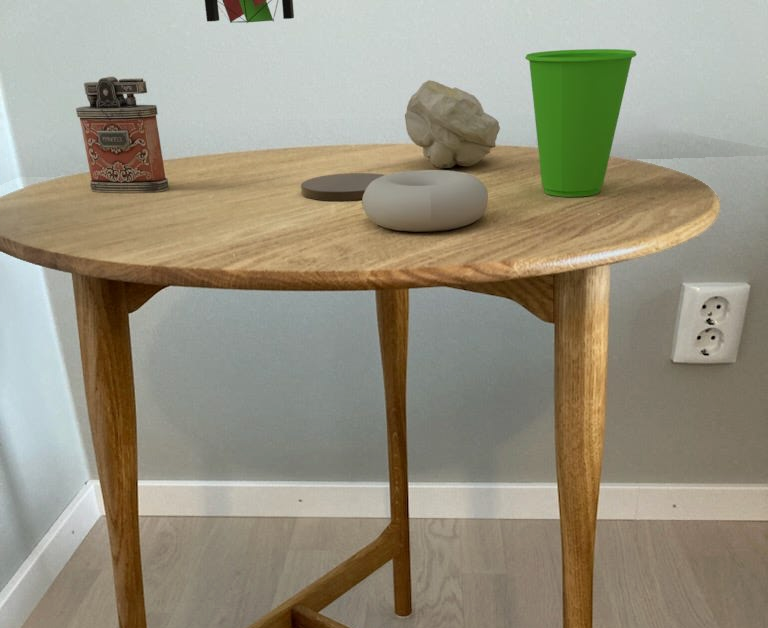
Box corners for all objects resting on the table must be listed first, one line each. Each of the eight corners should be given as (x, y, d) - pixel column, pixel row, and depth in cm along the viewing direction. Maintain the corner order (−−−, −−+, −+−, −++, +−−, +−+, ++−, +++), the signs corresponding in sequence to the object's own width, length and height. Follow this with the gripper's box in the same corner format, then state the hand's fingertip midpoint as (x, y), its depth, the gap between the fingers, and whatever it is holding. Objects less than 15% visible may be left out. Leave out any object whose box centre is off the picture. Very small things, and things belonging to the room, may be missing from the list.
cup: (637, 184, 82) (650, 48, 77) (604, 205, 76) (615, 57, 70) (543, 179, 86) (549, 49, 81) (504, 197, 80) (508, 57, 74)
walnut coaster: (297, 202, 81) (296, 193, 81) (306, 183, 89) (305, 174, 89) (397, 198, 81) (397, 189, 81) (397, 180, 89) (397, 171, 89)
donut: (455, 205, 79) (346, 215, 76) (456, 162, 77) (344, 172, 74) (509, 228, 71) (389, 242, 68) (512, 182, 69) (388, 193, 66)
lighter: (84, 192, 90) (62, 80, 85) (101, 185, 93) (81, 76, 88) (159, 192, 88) (142, 78, 83) (174, 185, 91) (158, 74, 86)
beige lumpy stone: (468, 153, 102) (387, 171, 99) (459, 72, 98) (375, 88, 95) (526, 159, 92) (439, 179, 89) (520, 68, 88) (428, 86, 85)
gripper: (93, -303, 73) (140, 24, 84) (337, -313, 72) (351, 17, 84) (117, -279, 79) (158, 21, 91) (341, -288, 79) (353, 15, 90)
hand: (250, 19), depth 87 cm, fingers closed on geometric puzzle, 7 cm apart
